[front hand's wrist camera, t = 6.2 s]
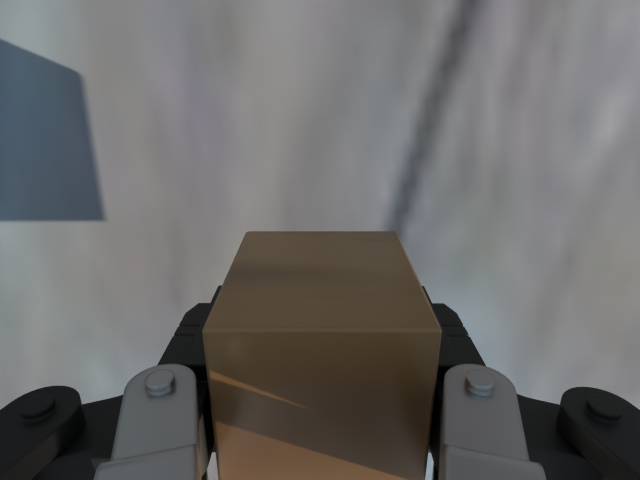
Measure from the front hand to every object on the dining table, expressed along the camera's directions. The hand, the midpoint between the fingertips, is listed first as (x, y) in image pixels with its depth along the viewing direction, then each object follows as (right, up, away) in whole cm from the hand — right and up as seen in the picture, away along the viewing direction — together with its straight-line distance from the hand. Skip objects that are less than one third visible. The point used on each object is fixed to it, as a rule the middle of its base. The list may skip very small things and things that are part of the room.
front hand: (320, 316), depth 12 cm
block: (0, 0, 0) cm, 0 cm away
